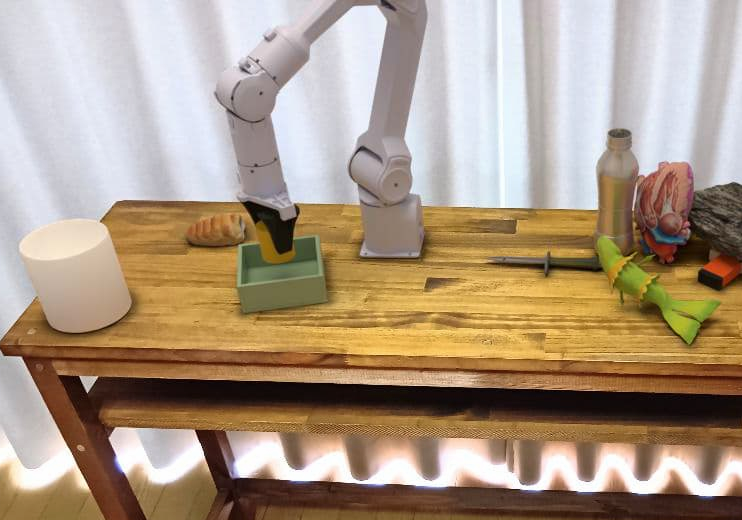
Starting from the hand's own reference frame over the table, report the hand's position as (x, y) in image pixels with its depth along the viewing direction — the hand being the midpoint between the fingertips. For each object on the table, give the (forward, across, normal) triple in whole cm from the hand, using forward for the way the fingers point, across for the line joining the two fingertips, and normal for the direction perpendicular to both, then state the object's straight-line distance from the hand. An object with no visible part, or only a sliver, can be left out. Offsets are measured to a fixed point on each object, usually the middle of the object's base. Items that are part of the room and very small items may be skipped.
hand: (276, 244), depth 133 cm
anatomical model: (-6, +26, +53) cm, 60 cm away
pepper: (+2, 0, 0) cm, 2 cm away
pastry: (+7, -20, -2) cm, 21 cm away
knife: (+6, +19, +35) cm, 41 cm away
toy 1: (+1, +45, +35) cm, 57 cm away
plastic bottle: (+8, +25, +44) cm, 51 cm away
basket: (+7, 0, 0) cm, 7 cm away
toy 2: (+6, +40, +49) cm, 64 cm away
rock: (-2, +30, +59) cm, 66 cm away
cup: (+7, -12, -26) cm, 29 cm away
